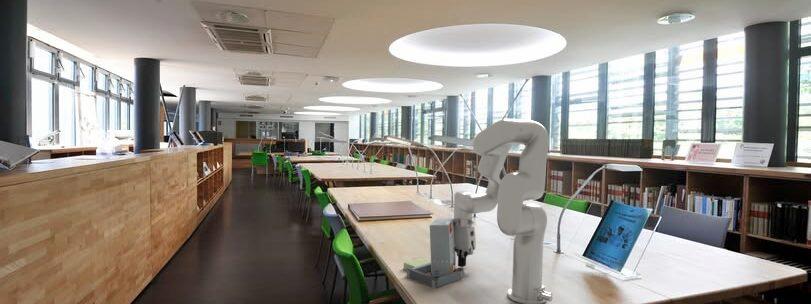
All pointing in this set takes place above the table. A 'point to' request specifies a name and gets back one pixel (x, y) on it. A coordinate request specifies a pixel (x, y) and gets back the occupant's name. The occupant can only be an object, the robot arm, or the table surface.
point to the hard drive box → (442, 247)
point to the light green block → (416, 263)
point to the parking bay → (434, 282)
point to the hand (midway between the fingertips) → (461, 265)
